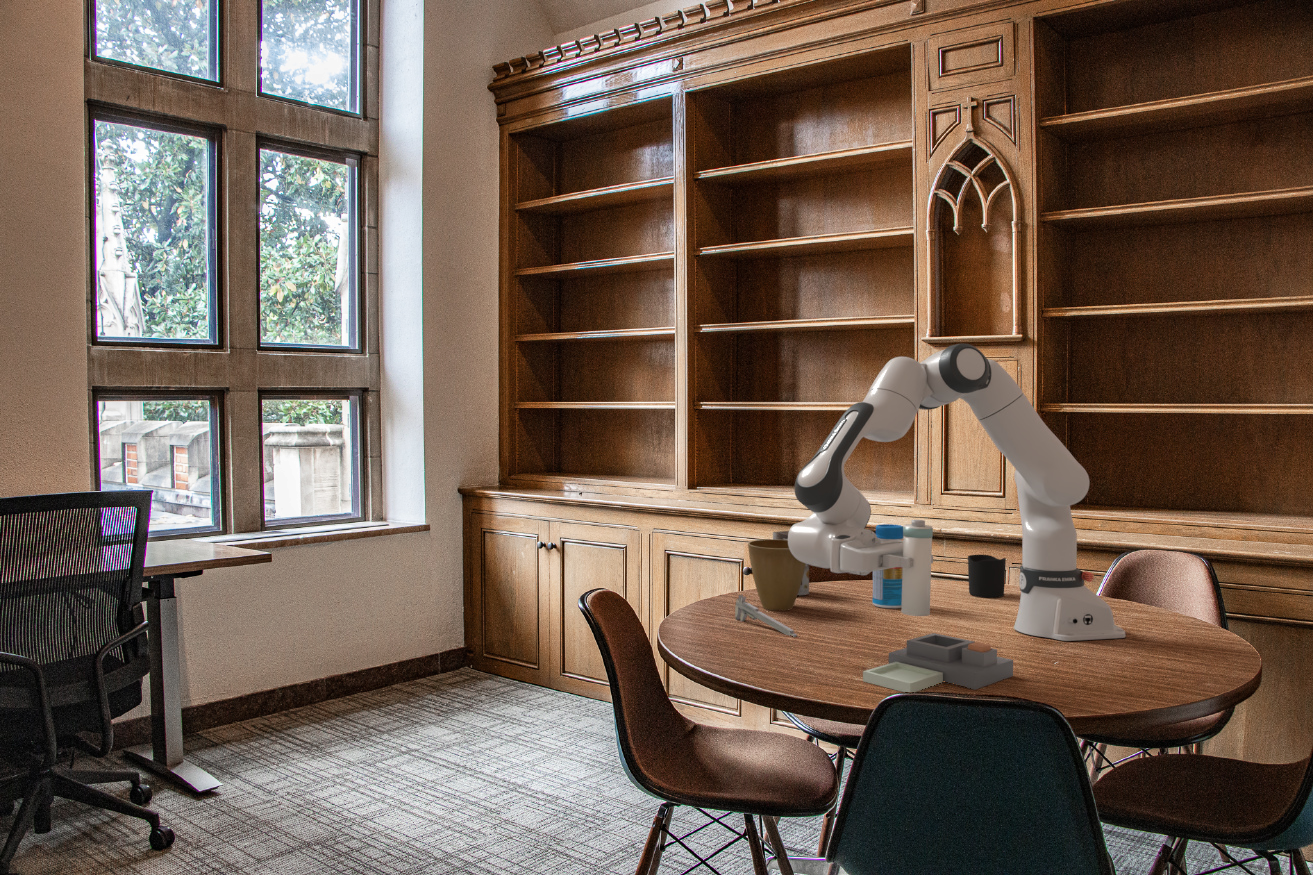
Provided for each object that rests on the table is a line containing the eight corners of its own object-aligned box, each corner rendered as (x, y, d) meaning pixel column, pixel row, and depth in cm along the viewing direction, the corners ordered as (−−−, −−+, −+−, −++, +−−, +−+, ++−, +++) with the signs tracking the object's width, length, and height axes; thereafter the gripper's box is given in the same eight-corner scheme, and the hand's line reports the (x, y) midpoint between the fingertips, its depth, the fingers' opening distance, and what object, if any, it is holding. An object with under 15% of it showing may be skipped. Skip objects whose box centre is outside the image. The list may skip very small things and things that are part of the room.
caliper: (735, 621, 222) (734, 594, 222) (738, 620, 223) (738, 593, 222) (794, 638, 205) (793, 609, 205) (797, 637, 206) (797, 608, 205)
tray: (895, 671, 178) (895, 661, 178) (942, 682, 171) (942, 672, 171) (862, 681, 172) (862, 671, 172) (910, 693, 164) (910, 683, 164)
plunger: (976, 658, 175) (976, 641, 175) (990, 661, 173) (990, 644, 173) (968, 660, 173) (968, 644, 173) (982, 663, 171) (982, 647, 171)
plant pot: (737, 609, 233) (737, 544, 232) (763, 599, 245) (763, 537, 245) (794, 616, 225) (794, 549, 224) (817, 605, 238) (818, 541, 237)
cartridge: (925, 610, 177) (928, 519, 176) (934, 616, 172) (936, 522, 171) (897, 609, 177) (900, 518, 176) (905, 616, 172) (908, 522, 171)
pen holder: (1003, 592, 254) (1003, 555, 254) (1007, 599, 245) (1008, 560, 245) (966, 590, 256) (966, 554, 256) (969, 597, 247) (969, 559, 247)
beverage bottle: (865, 605, 238) (865, 525, 237) (884, 600, 244) (885, 522, 243) (894, 610, 232) (894, 528, 231) (913, 605, 237) (913, 525, 237)
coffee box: (810, 594, 251) (810, 534, 251) (789, 596, 249) (789, 535, 248) (792, 588, 260) (792, 530, 259) (771, 590, 257) (771, 531, 257)
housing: (928, 656, 189) (928, 629, 188) (1013, 676, 175) (1013, 646, 175) (888, 668, 180) (888, 639, 180) (974, 689, 166) (975, 658, 166)
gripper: (890, 562, 191) (952, 572, 180) (825, 573, 177) (887, 585, 167) (891, 530, 190) (953, 539, 180) (826, 539, 177) (888, 549, 166)
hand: (921, 561), depth 173 cm, fingers closed on cartridge, 5 cm apart
